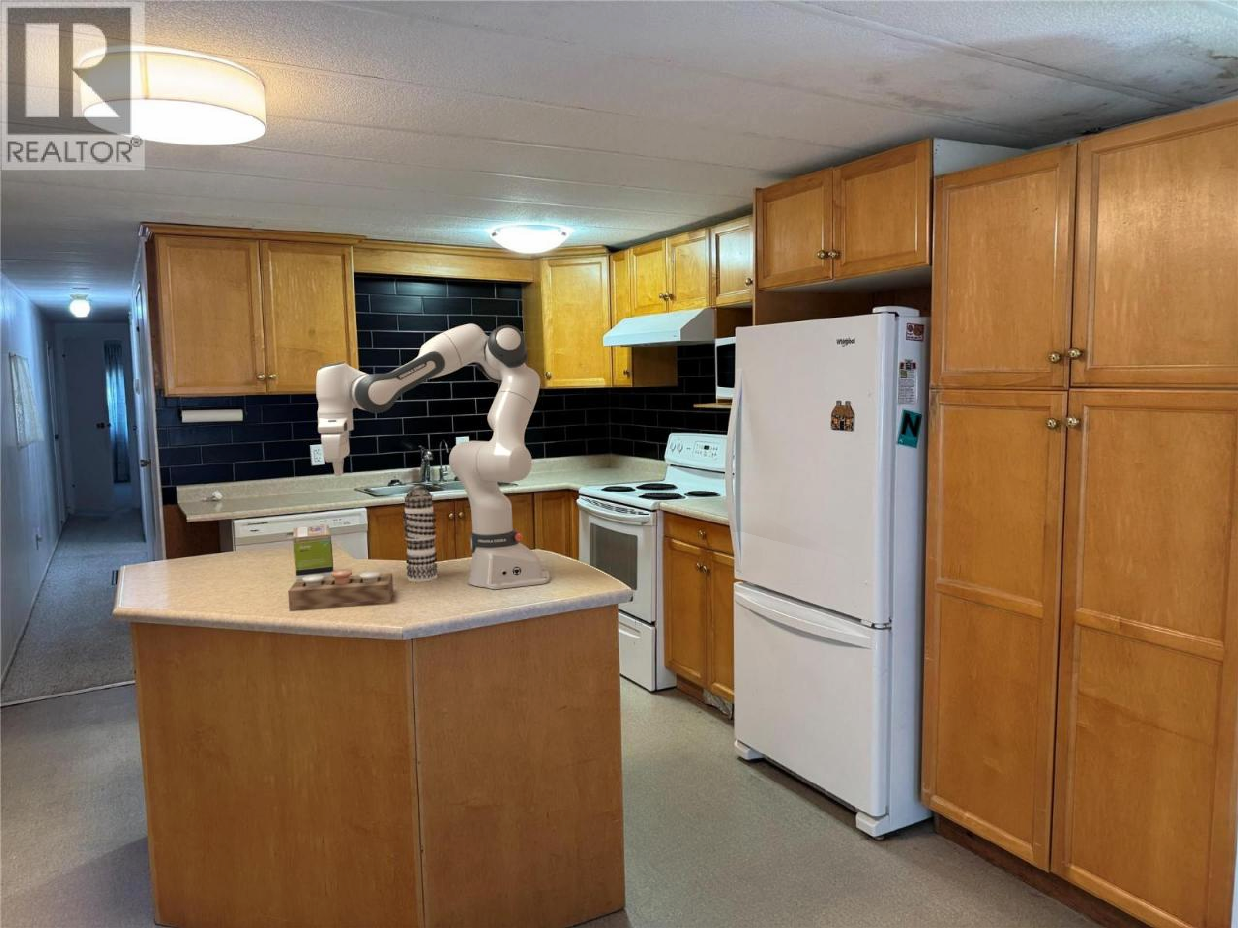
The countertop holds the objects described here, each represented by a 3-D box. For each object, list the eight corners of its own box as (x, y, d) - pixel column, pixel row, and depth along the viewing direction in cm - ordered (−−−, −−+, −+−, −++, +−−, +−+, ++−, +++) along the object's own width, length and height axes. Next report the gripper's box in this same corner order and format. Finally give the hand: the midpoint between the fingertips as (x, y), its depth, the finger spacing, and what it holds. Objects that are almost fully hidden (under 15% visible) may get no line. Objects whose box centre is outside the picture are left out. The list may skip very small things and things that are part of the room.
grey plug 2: (382, 590, 220) (381, 570, 219) (380, 595, 215) (379, 575, 214) (361, 591, 219) (360, 572, 218) (359, 597, 214) (358, 576, 213)
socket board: (393, 591, 224) (392, 573, 223) (389, 603, 212) (388, 584, 211) (299, 597, 219) (297, 579, 219) (289, 610, 208) (288, 590, 207)
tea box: (296, 576, 242) (293, 526, 241) (333, 573, 246) (329, 523, 244) (296, 589, 228) (292, 536, 227) (334, 585, 232) (331, 532, 230)
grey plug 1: (326, 594, 217) (325, 574, 217) (323, 599, 212) (322, 579, 211) (305, 595, 216) (304, 575, 216) (302, 600, 211) (300, 580, 211)
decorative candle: (402, 582, 233) (397, 493, 230) (410, 574, 242) (405, 489, 239) (435, 581, 233) (430, 493, 230) (441, 573, 242) (437, 488, 239)
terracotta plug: (354, 588, 218) (353, 568, 218) (351, 593, 213) (350, 573, 213) (333, 589, 217) (332, 569, 217) (330, 595, 212) (329, 574, 212)
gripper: (329, 422, 232) (332, 471, 233) (316, 427, 212) (320, 481, 213) (353, 421, 233) (356, 470, 234) (342, 426, 213) (345, 479, 214)
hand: (338, 475), depth 223 cm, fingers closed
